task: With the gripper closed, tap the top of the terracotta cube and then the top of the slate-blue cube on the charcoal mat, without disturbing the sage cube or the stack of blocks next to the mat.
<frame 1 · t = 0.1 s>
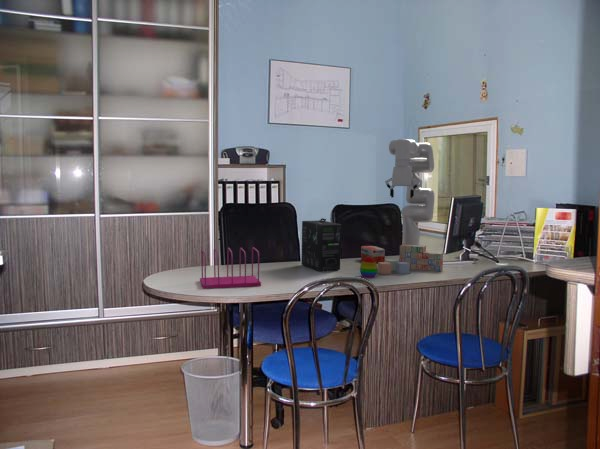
hand: (401, 197, 274), 37 cm above the table, tool pointing down, fingers open, 9 cm apart
decorative egg: (368, 277, 257), on the table
terracotta cube: (384, 273, 266), resting on charcoal mat
sage cube: (391, 269, 276), resting on charcoal mat
charcoal mat: (388, 272, 271), on the table
headset box: (320, 268, 283), on the table
medicine box: (372, 261, 306), on the table
slate-blue cube: (402, 272, 267), resting on charcoal mat
stack of blocks: (420, 269, 281), on the table
file sorter: (229, 284, 240), on the table
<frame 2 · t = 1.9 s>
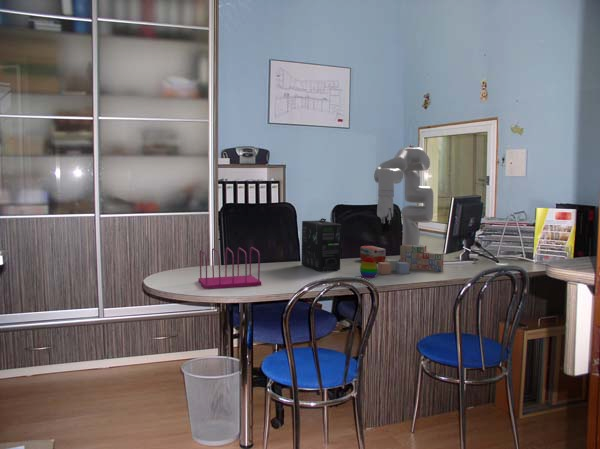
hand: (385, 231, 264), 21 cm above the table, tool pointing down, fingers closed
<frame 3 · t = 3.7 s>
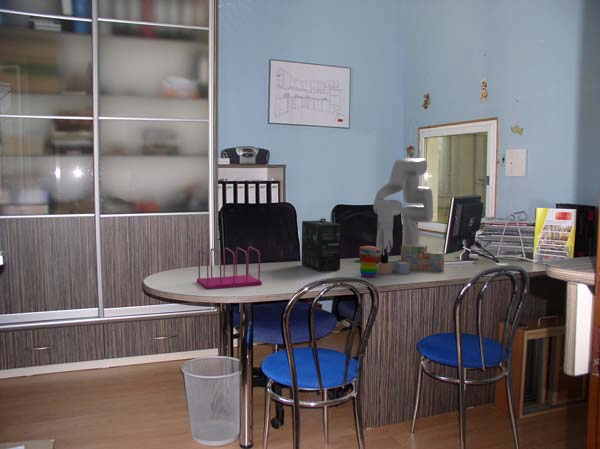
hand: (384, 263, 266), 5 cm above the table, tool pointing down, fingers closed
terracotta cube: (384, 273, 266), resting on charcoal mat, touching gripper
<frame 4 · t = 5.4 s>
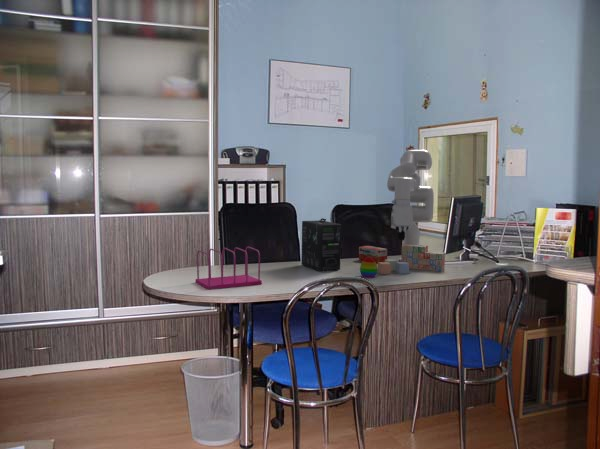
hand: (401, 239, 266), 17 cm above the table, tool pointing down, fingers closed
terracotta cube: (384, 273, 266), resting on charcoal mat
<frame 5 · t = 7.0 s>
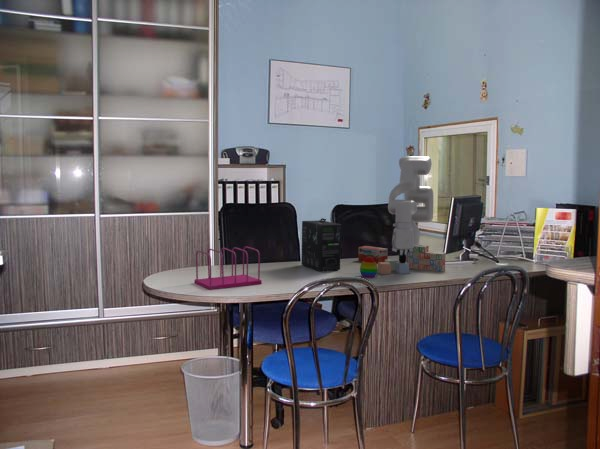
hand: (402, 262, 267), 5 cm above the table, tool pointing down, fingers closed
slate-blue cube: (402, 272, 267), resting on charcoal mat, touching gripper
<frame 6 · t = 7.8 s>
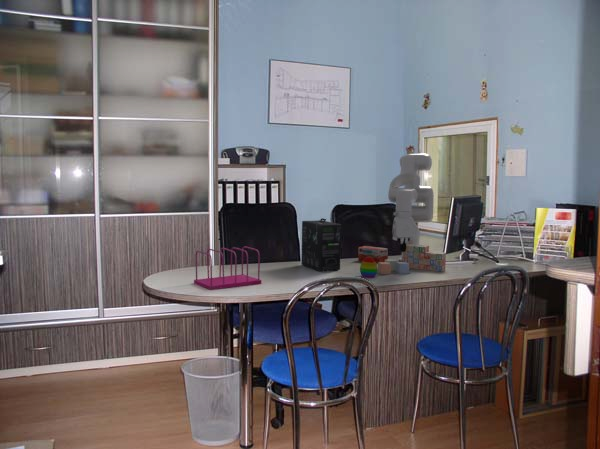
hand: (402, 251, 267), 11 cm above the table, tool pointing down, fingers closed
slate-blue cube: (402, 272, 267), resting on charcoal mat
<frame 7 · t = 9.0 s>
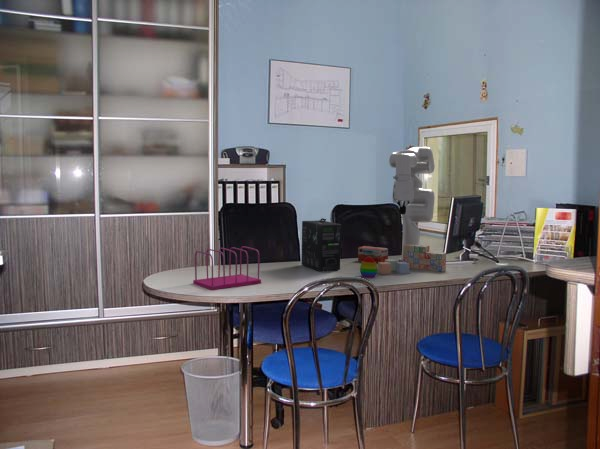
hand: (402, 214, 277), 29 cm above the table, tool pointing down, fingers closed
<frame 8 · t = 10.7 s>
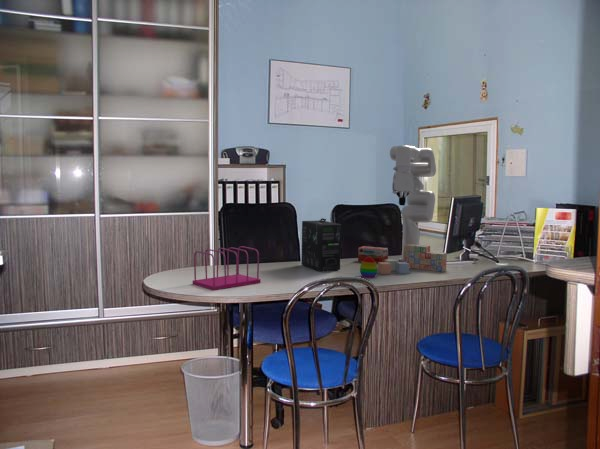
hand: (402, 205, 280), 33 cm above the table, tool pointing down, fingers closed
at the end: terracotta cube moved 0.0 cm from its start; slate-blue cube moved 0.0 cm from its start; sage cube moved 0.0 cm from its start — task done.
